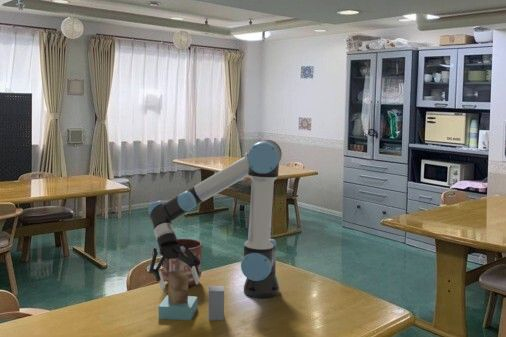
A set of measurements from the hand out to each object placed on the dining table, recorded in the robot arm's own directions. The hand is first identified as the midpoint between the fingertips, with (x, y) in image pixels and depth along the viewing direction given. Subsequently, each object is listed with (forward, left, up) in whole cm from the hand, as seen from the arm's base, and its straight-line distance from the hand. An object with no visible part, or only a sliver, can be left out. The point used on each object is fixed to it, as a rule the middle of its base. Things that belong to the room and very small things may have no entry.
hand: (180, 285), depth 198 cm
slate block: (-13, +3, -11) cm, 18 cm away
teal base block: (+1, -2, -12) cm, 12 cm away
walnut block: (+1, -2, -7) cm, 7 cm away
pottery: (0, -37, -12) cm, 38 cm away
